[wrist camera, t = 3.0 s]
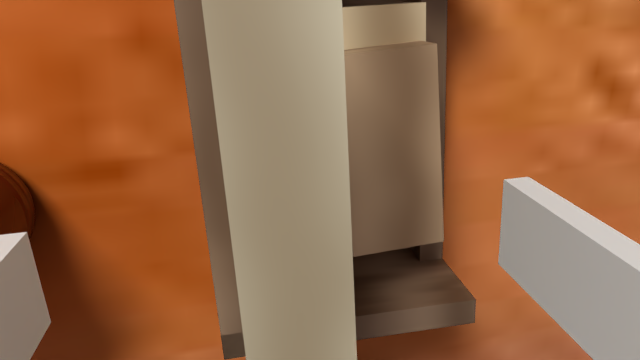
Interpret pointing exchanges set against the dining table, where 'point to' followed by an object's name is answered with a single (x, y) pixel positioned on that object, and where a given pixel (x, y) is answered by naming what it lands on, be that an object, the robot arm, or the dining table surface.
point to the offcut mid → (383, 24)
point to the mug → (15, 204)
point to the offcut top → (394, 146)
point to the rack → (369, 270)
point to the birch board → (286, 172)
